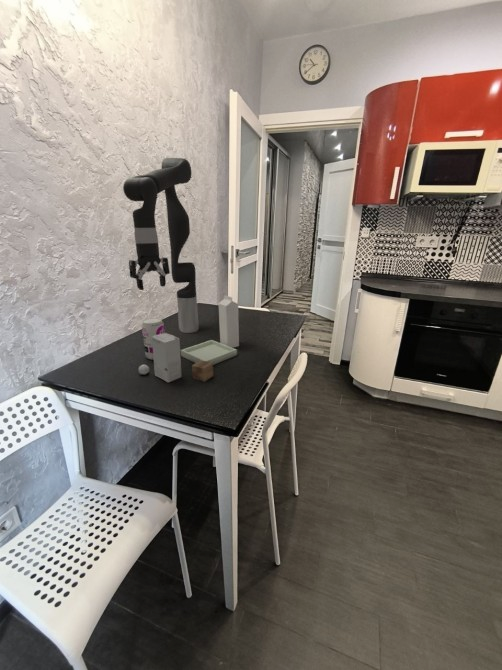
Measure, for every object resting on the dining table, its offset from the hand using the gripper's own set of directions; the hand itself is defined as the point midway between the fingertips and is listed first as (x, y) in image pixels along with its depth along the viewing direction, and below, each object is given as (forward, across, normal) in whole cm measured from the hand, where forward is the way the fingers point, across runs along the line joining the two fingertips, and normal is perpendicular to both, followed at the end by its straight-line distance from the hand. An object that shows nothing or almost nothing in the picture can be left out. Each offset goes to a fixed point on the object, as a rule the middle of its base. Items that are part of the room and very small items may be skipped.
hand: (152, 288), depth 111 cm
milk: (+28, -28, +10) cm, 41 cm away
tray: (+28, -15, +12) cm, 34 cm away
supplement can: (+28, 0, -3) cm, 29 cm away
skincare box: (+28, +6, +16) cm, 33 cm away
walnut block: (+28, -2, +25) cm, 38 cm away
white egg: (+26, +11, +8) cm, 30 cm away
